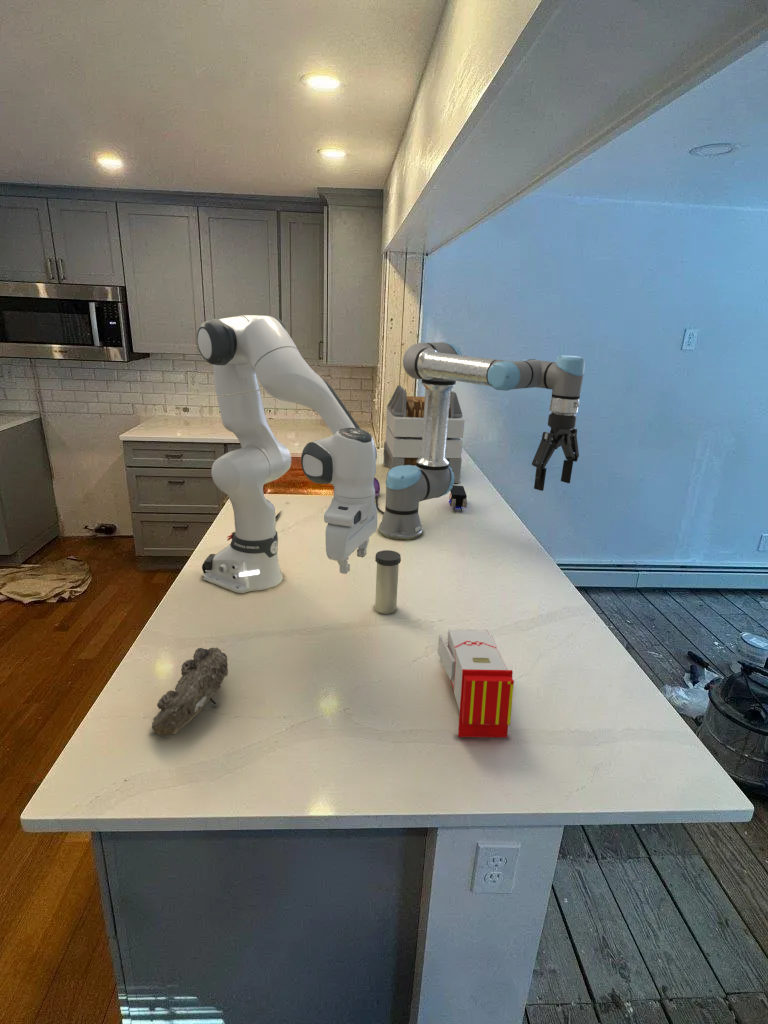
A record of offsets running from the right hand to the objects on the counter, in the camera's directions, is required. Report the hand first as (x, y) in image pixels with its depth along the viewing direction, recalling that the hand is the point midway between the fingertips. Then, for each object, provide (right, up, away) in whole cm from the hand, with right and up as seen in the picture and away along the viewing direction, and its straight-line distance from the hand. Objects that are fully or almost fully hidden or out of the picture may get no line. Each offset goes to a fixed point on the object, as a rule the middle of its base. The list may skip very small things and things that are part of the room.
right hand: (552, 485), depth 166 cm
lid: (-48, -19, -21) cm, 56 cm away
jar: (-49, -33, -16) cm, 61 cm away
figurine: (-55, -1, +73) cm, 92 cm away
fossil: (-86, -45, -54) cm, 111 cm away
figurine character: (-20, -6, +64) cm, 67 cm away
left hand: (-56, -19, -40) cm, 71 cm away
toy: (-31, -45, -47) cm, 72 cm away
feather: (-88, -9, +47) cm, 101 cm away
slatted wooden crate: (-32, +11, +109) cm, 115 cm away
